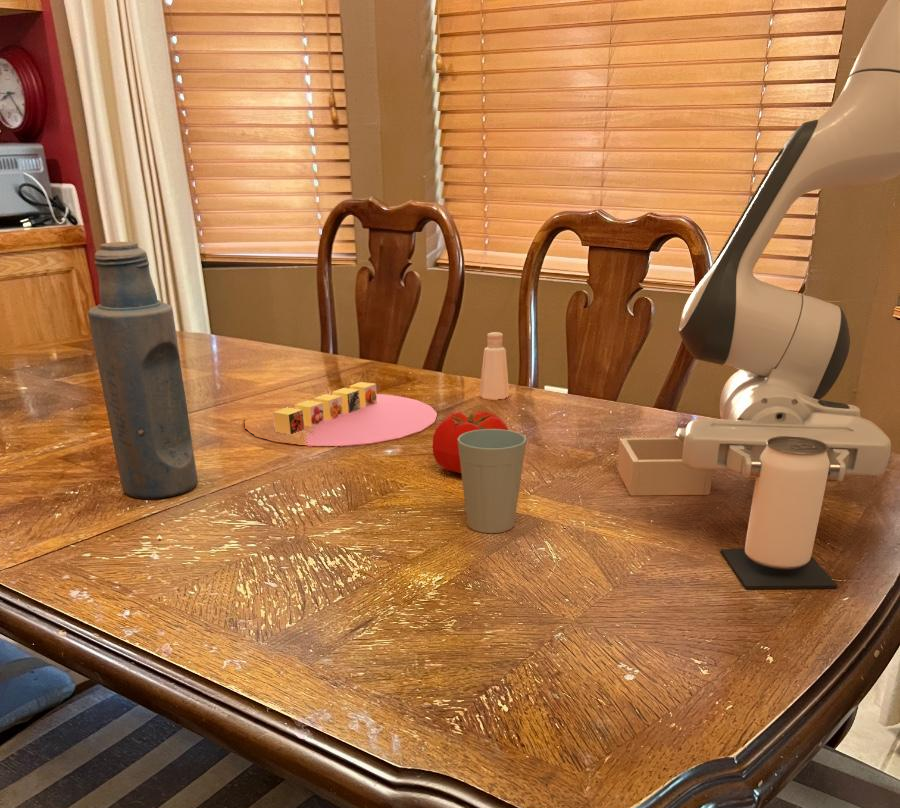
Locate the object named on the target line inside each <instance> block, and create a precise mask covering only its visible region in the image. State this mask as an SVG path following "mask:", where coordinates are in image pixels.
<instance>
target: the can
mask: <svg viewBox="0 0 900 808" xmlns="http://www.w3.org/2000/svg"><path fill="white" fill-rule="evenodd" d="M827 450H828V446H827V445H826V444H825V443H823V442H821V441H819V440H816V439H812V438H807V437H799V436H778V437H773V438H770V439H769V440H767V446H766V448H765V449H764V451H763V452H762V454H761V455H760V460H761V463H762V464H761V469H760V470H759V472H760V477H759V478H755V482H754V488H753V494H752V499H751V506H750V513H749V519H748V525H747V531H746V538H745V545H744V549H745V553H746V555H747V556H748V558H749V559H750V560H752V561H753V562H755V563H757V564H759V565H762V566H765V567H769V568H774V569H796V568H800V567H802V566H804V565H805V564H806V563H808V562H809V561H810V559H811V556H812V555H813V550H814V545H815V541H816V536H817V531H818V530H817V529H818V525H819V521H820V517H821V512H822V511H821V510H822V506H823V502H824V496H825V490H826V486H827V482H828V481H827V476H828V471H829V464H830V463H829V458H828V455H827Z"/></svg>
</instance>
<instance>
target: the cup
mask: <svg viewBox="0 0 900 808" xmlns="http://www.w3.org/2000/svg"><path fill="white" fill-rule="evenodd" d="M526 446H527V437H526V435H524V434H522V433H521V432H518V431H515V430H510V429H508V430H503V429H481V430H474V431H469V432H466V433H463V434H461V435H460V436H459V437H458V448H459V456H460V464H461V473H462V474H461V480H462V491H463V497H464V507H465V512H466V513H465V514H466V523H467V524H466V525H467V526H468V528H470V529H471V530H473V531H474V532H478V533H483V534H500V533H505V532H508V531H510V530H512V529H513V528H514V526H515V522H516V515H517V508H518V500H519V493H520V486H521V479H522V471H523V465H524V459H525V454H526Z"/></svg>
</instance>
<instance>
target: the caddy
mask: <svg viewBox="0 0 900 808" xmlns="http://www.w3.org/2000/svg"><path fill="white" fill-rule="evenodd" d="M683 445H684V443H683V442H680V441H679V440H678V438H677V437H619V442H618V453H617V454H618V456H617V466H616V467H617V468H616V471H617V473H618V474H619V477H620V478H621V480H622V483H623V484H624V486H625V488H626V490H627V491H628V493H629V496H631V497H634V496H637V497H640V496H641V497H642V496H643V497H644V496H645V497H646V496H649V497H650V496H710V495H711V488H712V482H713V481H712V480H713V473H714V470H707V469H692V468H689V467H686V466H684V465H683V463H682V455H683Z"/></svg>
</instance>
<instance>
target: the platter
mask: <svg viewBox="0 0 900 808" xmlns="http://www.w3.org/2000/svg"><path fill="white" fill-rule="evenodd" d="M330 394H332V395H330ZM320 395H321V396H318V397H316V398H314V401H309V400H307V401H304V402H301V403H298V404H295V405H294V406H295V409H294V408H288V407H286V408H283V409H281V410H278V411H275V412H273V418H274V427H275V431H276V432H281V433H287V434H293V433H296V432H299V431H302V430H304V425H305V426H309V427H312V428H313V427H315V428H313V429H312V428H310V429H312V430H311V431H313V430H314V429H315V430H314V431H313V432H312V433H311V434H309V433H310V432H311V431H310V432H308V435H307V436H306V437H305V439H306V438H308V439H307V440H306V442H308V443H306V444H305V445H307V444H308V446H307V447H312V446H335V447H334V448H338V447H337V446H340V447H352V446H364V445H374V444H378V443H384V442H390V441H395V440H400V439H403V438H406V437H409V436H411V435H415V434H418V433H422V432H423V431H425V430H426V429H428V428H429V427H431V426H432V425H434V424H435V423H436V419H437V417H438V413H437V411H436V410H435V409H434V408H433V407H432V405H429V404H427V403H425V402H422V401H420V400H418V399H414V398H409V397H404V396H400V395H394V394H384V393H377V383H372V382H366V381H365V382H364V381H360V382H356V383H354V384H350V385H349V387H342V388H339V389H336V390H333V391H331V393H325V394H320ZM307 429H308V428H307ZM310 429H309V430H310ZM309 430H308V431H309ZM306 432H307V431H306ZM314 432H315V433H314ZM313 433H314V434H313ZM312 434H313V435H312ZM305 439H304V440H305ZM304 443H305V442H304ZM310 445H311V446H310Z"/></svg>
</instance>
